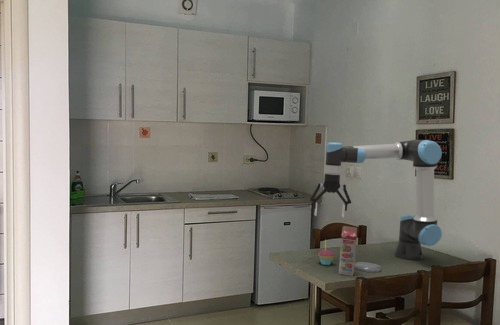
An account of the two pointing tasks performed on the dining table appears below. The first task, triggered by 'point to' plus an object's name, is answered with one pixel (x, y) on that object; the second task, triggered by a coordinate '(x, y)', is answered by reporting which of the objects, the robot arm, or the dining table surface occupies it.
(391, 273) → the dining table surface
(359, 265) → the plate
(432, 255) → the dining table surface
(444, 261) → the dining table surface
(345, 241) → the juice carton
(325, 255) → the cupcake
